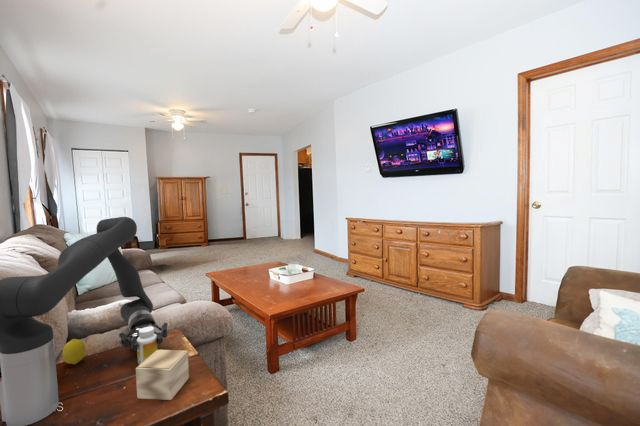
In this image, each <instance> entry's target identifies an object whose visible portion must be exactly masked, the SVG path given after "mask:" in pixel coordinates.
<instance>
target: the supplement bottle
mask: <svg viewBox="0 0 640 426" xmlns="http://www.w3.org/2000/svg"><path fill="white" fill-rule="evenodd" d="M137 344H138V350H137V351H136V357H137V363H138V364H139V365H140V364H141V363H142V362H144V361H145V360H146V359H147V358H148V357H149V356H151V355H152V354H153V353H154V352H155V351H156V350H159V349H158V343H157V335H156V334H154V327H144V328H142V329H140V330H139V337H138V338H137Z"/></svg>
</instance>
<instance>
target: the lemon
mask: <svg viewBox="0 0 640 426" xmlns="http://www.w3.org/2000/svg"><path fill="white" fill-rule="evenodd" d="M86 351H87V349H86V344H85V342H84V341H82V340H81V339H76V338H71V340H69V341H68V342H67V343H65V344H64V347H63V348H62V354H61V356H62V359H63V361H64V362H65V363H67V364H70V365H71V364H72V365H76V364H78V363H79V362H80V361H82V360H83V359H84V357H85V356H86V355H85V354H86Z"/></svg>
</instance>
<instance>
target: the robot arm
mask: <svg viewBox="0 0 640 426" xmlns="http://www.w3.org/2000/svg"><path fill="white" fill-rule="evenodd" d="M137 231H138V226H137V222H135V220H134V219H132V218H131V217H129V216H118V217H117V216H116V217H111V218H104V219H101V220H99V222H97V225H96V233H93V234H90V235H87V236H85V237H82V238H81V239H78V240H76V241H75V242H73V243H71V244H70V245H68V246H67V247H65V249H63V250H62V251H61V252H60V254H59V256H58V259H57V260H58V261H57V266H58V267H56V268H55V269H53V270H52V271H50V272H48V273H46V274H42V275H30V276H29V275H28V276H27V275H26V276H24V275H23V276H10V277H4V278H1V279H0V373H1V380H0V412H1V421H2V422H5V424H6V426H28V425H33V424H34V423H37V422H39V421H41V420H43V419H45V418H47V417H49V415H51V414H52V413H53V412H56V410H57V408H58V406H59V403H60V401H59V388H58V387H59V386H58V378H57V375H58V374H57V364H56V351H55V338H54V336H55V335H54V329H53V327H52V326H51V325H50V324H49V323H48V324H47V323H44V322H41V321H39V320H37V319H36V318H34V317H38V316H42V315H45V314H47V313H49V312H50V311H52V310H53V309H54V308H55V307H56V306H57V305H58V304H59V303H60V302H61V301H62V300H63V299H64V298H65V296H67V294H68V293H69V292H70V291H71V290H72V289H73V288H74V287H75V286H76V284H78V283H79V282H80V281H82V279H84V277H86V276H87V275H88V274H89V273H90V272H92V271H94V270H95V269H97V267H98V266H99V265H101V263H103V261H105V260H106V259H108V261H109V264H110V265H111V267H112V269H113V271H114V274H115V276H116V280H117V283H118V287H119V290H120V294H121V296H122V297H123V298H137V299H134V300H132V301H127V302H126V303H124V304H123V305H122V306H121V307H120V311H119V312H120V316H121V318H122V319H123V321H125V322H126V323H128V324H127V325H128V330H129V332H128V333H125V332H124V333H123V332H121V333H119V334H118V343H119V344H120V345H121V346H122V347H123V348H125V349H126V348H128V347H130V349H131V350H132V351H135V352H137V350H138V344H137V338H138V337H139V330H140V329H142V328H144V327H154V334H156V335H157V346H159V345H162V343H163V341H164V339H165V338H167V337H168V332H169V330H168V328H169V327H168V326H169V325H168V322H164V323H162V325H158V324H157V323H156V321H155V318H154V316H153V314H151V313H152V312H153V311H154V303H153V302H152V300H151V298H150V297H149V296H148V295H147V294H146V292H145V289H144V287H143V284H142V281H141V277H140V274H139V271H138V269H137V268H136V267H135V265H134V264H133V263H132V262H131V261H129V260H128V259H127V258H126V256H124V254H123V253H122V252H121V251H120V247H122V246H124V245H126V244H127V243H129V242H131V241H132V240H133V239H134V238H135V236H136V234H137Z"/></svg>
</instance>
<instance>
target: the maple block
mask: <svg viewBox="0 0 640 426" xmlns="http://www.w3.org/2000/svg"><path fill="white" fill-rule="evenodd" d="M189 369H190V368H189V352H188V350H181V349H158V350H156V351H155V352H154V353H153V354H152V355H151V356H149V357H148V358H147V359H146V360H145V361H144V362H142V363H141V364H139V365H138V366H137V367H135V379H136V380H135V382H136V383H135V384H136V394H137V395H136V397H137V399H141V400H162V401H163V400H164V401H165V400H166V401H167V400H168V401H171V400H172V399H173V398H175V396H176V395H177V394H178V392H179V391H180V390H181V389H182V387H183V386H184V385H185V383H186V382H187V381H188V380H189V378H190V375H189V374H190V373H189V371H190V370H189Z"/></svg>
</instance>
